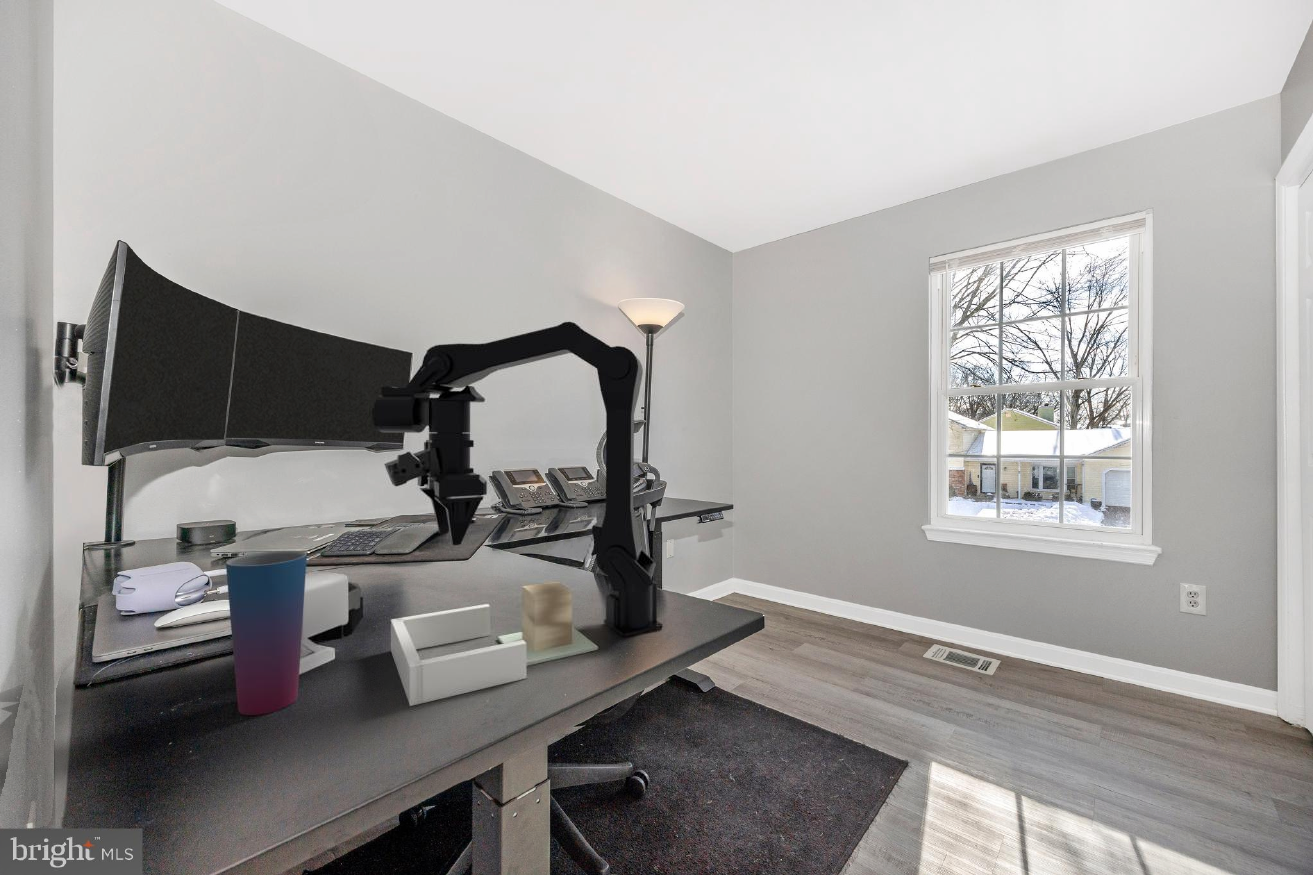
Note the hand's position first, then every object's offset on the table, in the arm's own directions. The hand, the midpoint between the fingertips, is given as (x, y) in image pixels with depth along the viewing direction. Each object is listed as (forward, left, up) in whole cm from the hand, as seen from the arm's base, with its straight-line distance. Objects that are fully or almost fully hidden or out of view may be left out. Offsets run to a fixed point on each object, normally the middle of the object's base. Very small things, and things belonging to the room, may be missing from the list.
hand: (449, 539), depth 81 cm
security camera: (+18, +6, -12) cm, 23 cm away
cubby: (+3, +16, -12) cm, 20 cm away
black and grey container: (+16, -6, -12) cm, 21 cm away
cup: (+21, +16, -12) cm, 29 cm away
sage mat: (-9, +16, -12) cm, 22 cm away
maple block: (-9, +16, -12) cm, 22 cm away
